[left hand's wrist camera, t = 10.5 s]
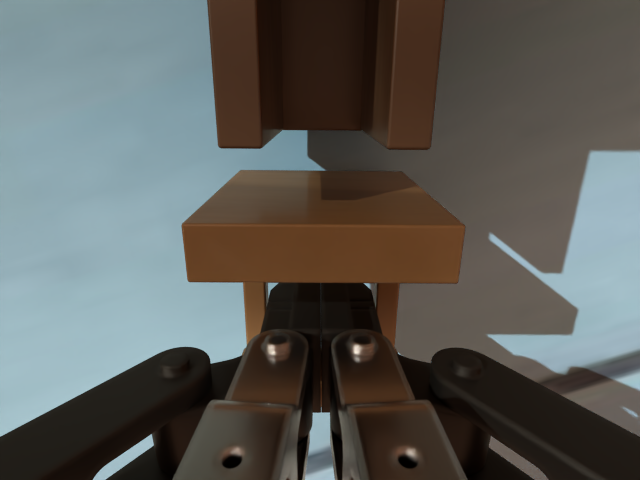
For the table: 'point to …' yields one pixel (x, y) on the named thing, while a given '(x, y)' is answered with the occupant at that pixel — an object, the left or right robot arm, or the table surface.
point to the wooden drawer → (324, 186)
